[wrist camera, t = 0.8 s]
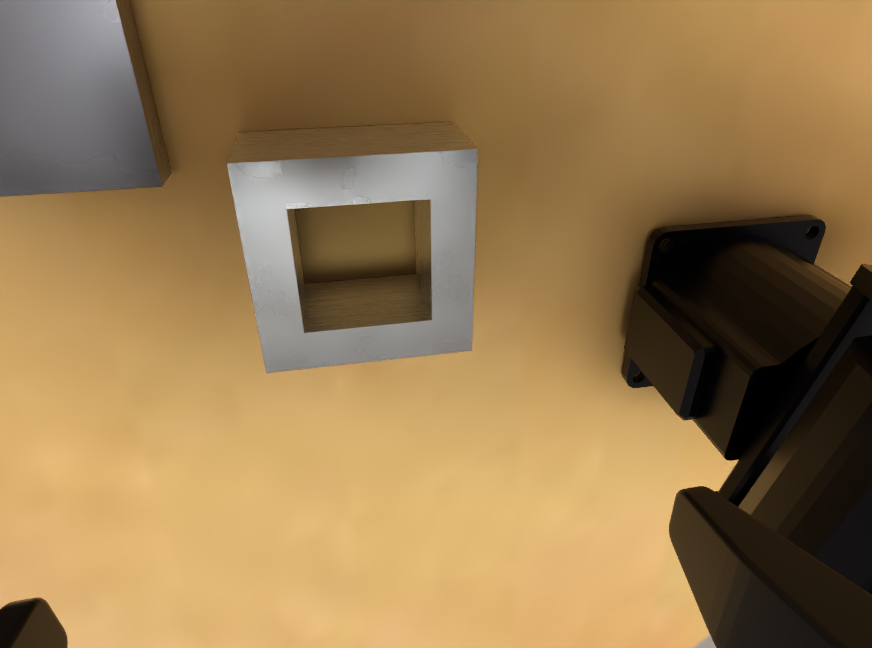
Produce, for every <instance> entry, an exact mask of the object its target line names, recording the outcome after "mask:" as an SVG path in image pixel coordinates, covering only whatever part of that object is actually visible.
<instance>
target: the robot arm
mask: <svg viewBox="0 0 872 648" xmlns="http://www.w3.org/2000/svg"><path fill="white" fill-rule="evenodd" d="M810 227H811V228H810ZM809 228H810V230H809V232H808V233H806V232H807V230H808V229H809ZM825 228H826V226H825V223H824V222H823V221H822V220H820V219H819V218H817V217H815V216H811V215H805V216H793V217H780V218H768V219H756V220H743V221H731V222H719V223H706V224H694V225H682V226H670V227H662V228H658V229H657V230H655V231H654V232H653V233H652V234H651V235H650V236H649V239H648V241H647V246H646V251H645V257H644V262H643V267H642V272H641V278H640V283H639V287H638V289H637V290H636V292H635V294H634V299H633V304H632V310H631V315H630V320H629V326H628V331H627V336H626V342H625V347H624V349H625V351H626V356H625V361H624V367H623V372H622V377H623V378H624V380H625V381H626V383H627V384H628V385H629V386H630V387H632V388H640V387H648V386H654V387H655V388H656V389H657V391H658V392H659V393H660V394H661V396H662V397H663V398H664V399H665V400H666V402H667V403H668V404H669V405H670V407H671V408H672V409H673V410H674V412H675V413H676V414H677V415H678V416H679V417H680V418H681V419H683V420H691V419H692V420H693V421H694V422H695V423H696V424H697V426H698V427H699V428H700V429H701V430H702V432H703V433H704V434H705V435H706V436H707V438H708V439H709V440H710V441H711V442H712V443H713V445H714V446H715V447H716V448H717V449H718V451H719V452H720V453H721V454H722V455H723V457H724V458H725V459H726V460H738V459H739V460H738V462H737V463H736V465H735V467H734V468H733V470H732V471H731V473H730V474H729V476H728V477H727V479H726V480H725V482H724V483H723V485H722V486H721V488H720V490H719V491H715V492H714V491H713V490H711V489H710V488H707V487H704V486H699V487H693V488H687V489H682V490H680V491H679V492H678V493H677V494H676V497H675V501H674V506H673V510H672V515H671V519H670V524H669V534H670V538H671V542H672V544H673V547H674V549H675V552H676V554H677V556H678V559H679V561H680V564H681V566H682V568H683V571H684V573H685V576H686V578H687V580H688V583H689V585H690V588H691V590H692V593H693V595H694V597H695V600H696V602H697V605H698V607H699V609H700V612H701V614H702V617H703V619H704V621H705V624H706V626H707V628H708V631H709V633H710V635H711V637H712V640H713V642H714V644H715V646H716V648H872V265H867V264H861V266H860V268H859V269H858V271H857V272H856V274H855V275H854V277H853V278H852V280H851V281H850V283H851V284H852V285H853V286H852V287H851V286H849V285H848V284H846V283H844V282H843V281H841V280H839V279H838V278H836V277H834V276H833V275H831V274H829V273H828V272H826V271H824V270H823V269H821V268H820V267H818V266H816V265H815V264H814V261H815V258H816V255H817V253H818V250H819V247H820V244H821V241H822V238H823V236H824V233H825ZM667 238H668V241H667V243H666V244H665V245H664V246H663V247H660V244H661V242H662V241H663V240H665V239H667ZM639 372H640V373H639ZM636 373H639V374H638V375H637V376H634V375H635V374H636ZM67 643H68V642H67V635H66V632H65V630H64V628H63V626H62V625H61V623H60V622H59V620H58V619H57V617H56V615H55V614H54V612H53V611H52V609H51V608H50V606H49V604H48V603H47V602H46V600H44V599H42V598H31V599H25V600H19V601H14V602H11V603H8V604H6V605H5V606H4V607H2V608H1V609H0V648H67Z"/></svg>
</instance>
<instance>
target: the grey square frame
mask: <svg viewBox="0 0 872 648" xmlns="http://www.w3.org/2000/svg"><path fill="white" fill-rule="evenodd" d="M477 159H478V149H477V148H476V147H475V146H474V144H473V143H472V142H471V141H470V140H469V139H468V138H467V137H466V136H465V134H464V133H463V132H462V131H461V130H460V129H459V128H458V127H457V126H456V124H455V123H454V122H436V123H416V124H396V125H376V126H356V127H336V128H316V129H295V130H275V131H255V132H239V133H238V136H237V138H236V141H235V144H234V146H233V149H232V151H231V154H230V156H229V159H228V161H227V168H228V173H229V179H230V184H231V189H232V194H233V200H234V205H235V210H236V216H237V221H238V226H239V231H240V237H241V242H242V247H243V252H244V258H245V263H246V268H247V274H248V279H249V284H250V289H251V295H252V300H253V305H254V310H255V316H256V321H257V326H258V332H259V337H260V342H261V347H262V353H263V358H264V363H265V369H266V373H271V372H280V371H290V370H299V369H308V368H317V367H326V366H335V365H344V364H354V363H363V362H372V361H381V360H390V359H399V358H408V357H418V356H427V355H436V354H445V353H454V352H463V351H472V329H473V295H474V261H475V227H476V193H477ZM411 200H414V218H415V256H416V274H410V275H399V276H388V277H376V278H365V279H354V280H342V281H331V282H320V283H308V284H304V277H303V269H302V262H301V255H300V247H299V240H298V232H297V225H296V218H295V210H294V209H296V208H310V207H325V206H339V205H353V204H368V203H382V202H397V201H411Z"/></svg>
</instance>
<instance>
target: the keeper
mask: <svg viewBox="0 0 872 648" xmlns="http://www.w3.org/2000/svg"><path fill="white" fill-rule="evenodd" d="M170 173H171V171H170V167H169V163H168V158H167V154H166V150H165V146H164V142H163V138H162V133H161V129H160V125H159V121H158V117H157V113H156V108H155V104H154V100H153V96H152V92H151V88H150V83H149V79H148V75H147V71H146V67H145V63H144V58H143V54H142V50H141V46H140V42H139V38H138V33H137V29H136V25H135V21H134V17H133V13H132V8H131V4H130V0H0V197H1V196H17V195H33V194H49V193H65V192H81V191H98V190H114V189H130V188H146V187H162V186H163V184H164V183H165V181H166V180H167V178H168V177H169V175H170Z"/></svg>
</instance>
